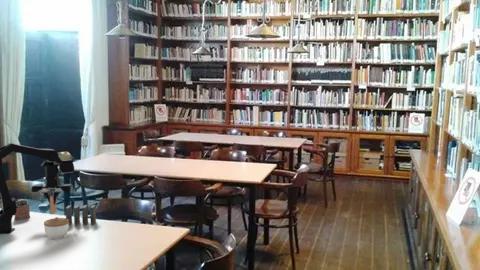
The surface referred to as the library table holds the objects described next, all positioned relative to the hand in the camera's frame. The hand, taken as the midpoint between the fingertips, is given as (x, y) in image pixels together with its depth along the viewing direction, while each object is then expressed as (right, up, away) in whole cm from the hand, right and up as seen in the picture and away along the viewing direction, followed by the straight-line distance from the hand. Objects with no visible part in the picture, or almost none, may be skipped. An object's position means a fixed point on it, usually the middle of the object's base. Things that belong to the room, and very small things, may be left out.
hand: (52, 204), depth 227 cm
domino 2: (+7, -10, +2) cm, 13 cm away
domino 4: (+15, -10, +3) cm, 19 cm away
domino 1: (0, -4, +1) cm, 4 cm away
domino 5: (+19, -10, +3) cm, 22 cm away
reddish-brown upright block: (-21, -9, +11) cm, 25 cm away
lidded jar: (+10, -12, -19) cm, 25 cm away
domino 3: (+11, -10, +2) cm, 15 cm away
